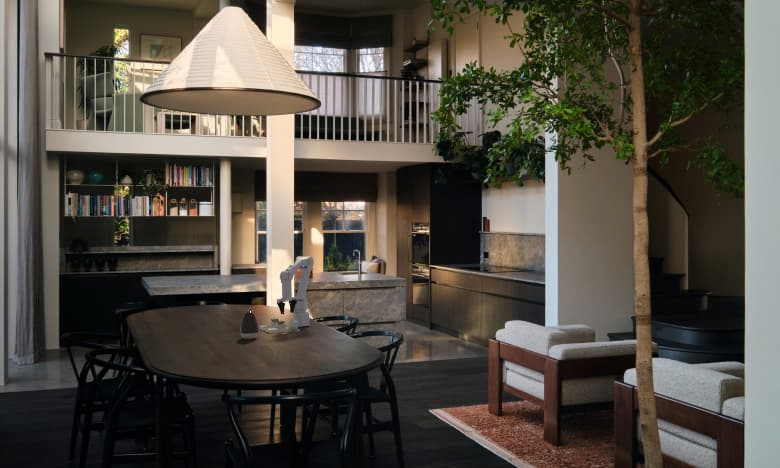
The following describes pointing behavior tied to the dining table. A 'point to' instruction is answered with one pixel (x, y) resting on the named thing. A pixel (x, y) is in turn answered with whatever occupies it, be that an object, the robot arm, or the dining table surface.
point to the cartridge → (294, 325)
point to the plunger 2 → (280, 322)
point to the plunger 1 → (274, 320)
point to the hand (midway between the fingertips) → (287, 313)
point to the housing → (274, 328)
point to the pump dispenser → (249, 326)
